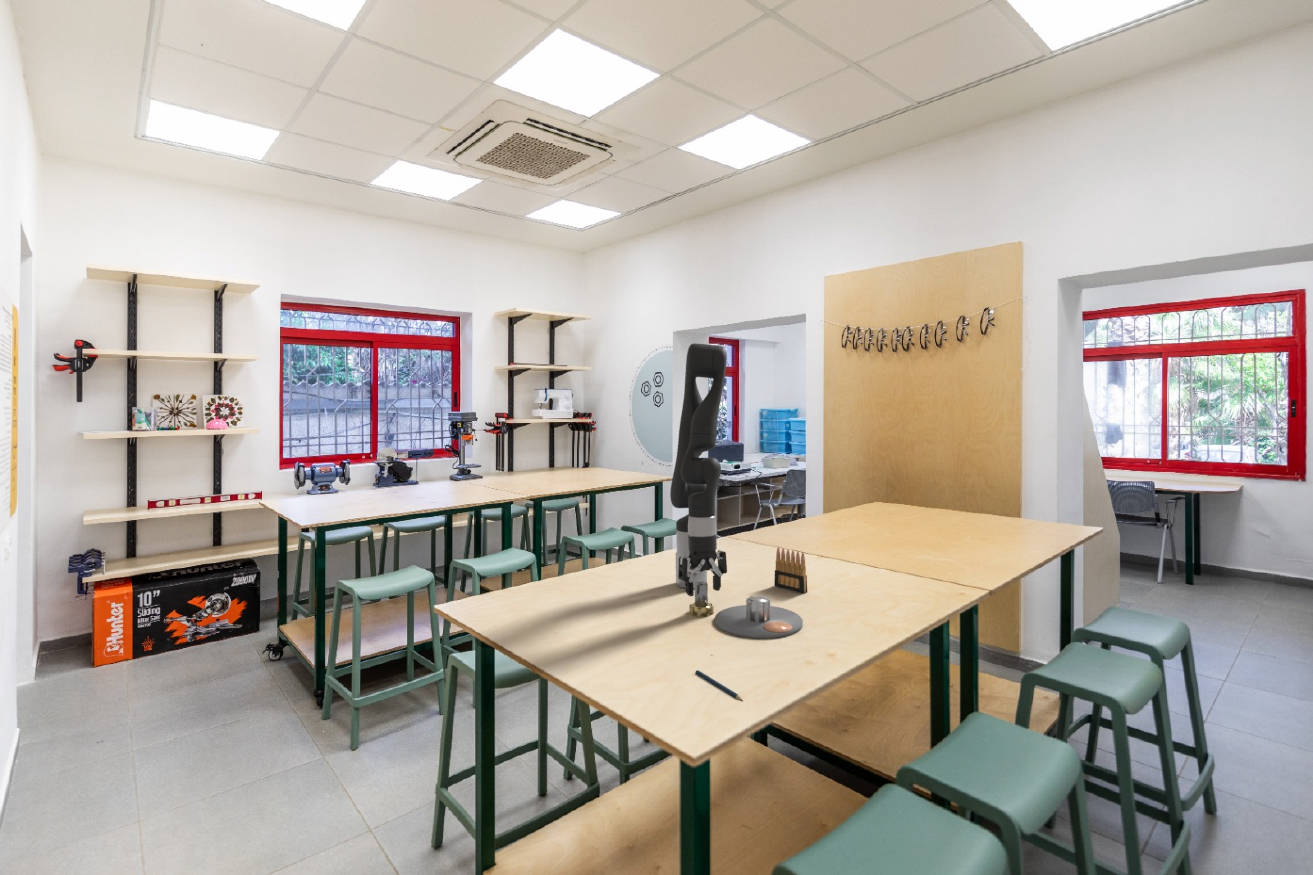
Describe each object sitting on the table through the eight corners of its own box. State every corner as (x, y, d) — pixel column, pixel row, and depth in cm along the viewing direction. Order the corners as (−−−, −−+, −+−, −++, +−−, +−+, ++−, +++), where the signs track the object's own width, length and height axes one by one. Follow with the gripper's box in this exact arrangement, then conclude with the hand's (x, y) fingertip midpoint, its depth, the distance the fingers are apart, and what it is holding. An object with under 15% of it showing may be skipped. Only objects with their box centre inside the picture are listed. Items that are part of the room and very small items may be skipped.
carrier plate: (698, 618, 165) (698, 595, 165) (764, 603, 176) (764, 582, 176) (751, 645, 146) (751, 620, 146) (821, 627, 157) (821, 603, 157)
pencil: (699, 673, 133) (745, 702, 120) (695, 675, 132) (741, 703, 119) (699, 669, 133) (745, 697, 120) (695, 670, 132) (741, 699, 119)
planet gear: (685, 611, 171) (684, 582, 170) (704, 607, 174) (704, 578, 173) (698, 618, 165) (697, 588, 165) (718, 614, 168) (717, 584, 168)
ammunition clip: (807, 592, 186) (807, 552, 185) (803, 593, 184) (803, 553, 184) (777, 585, 194) (777, 546, 193) (774, 586, 192) (773, 547, 192)
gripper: (715, 527, 175) (716, 585, 176) (672, 533, 168) (673, 594, 168) (732, 531, 169) (733, 591, 169) (687, 538, 161) (689, 601, 162)
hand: (703, 592), depth 169 cm, fingers open, 8 cm apart
